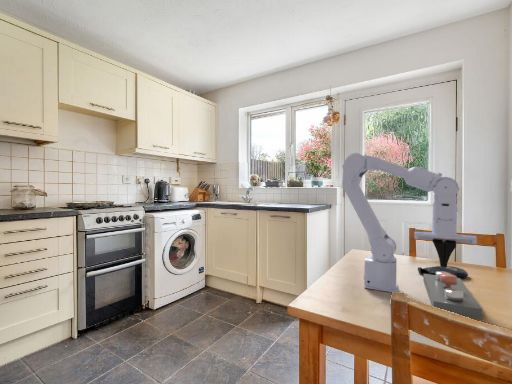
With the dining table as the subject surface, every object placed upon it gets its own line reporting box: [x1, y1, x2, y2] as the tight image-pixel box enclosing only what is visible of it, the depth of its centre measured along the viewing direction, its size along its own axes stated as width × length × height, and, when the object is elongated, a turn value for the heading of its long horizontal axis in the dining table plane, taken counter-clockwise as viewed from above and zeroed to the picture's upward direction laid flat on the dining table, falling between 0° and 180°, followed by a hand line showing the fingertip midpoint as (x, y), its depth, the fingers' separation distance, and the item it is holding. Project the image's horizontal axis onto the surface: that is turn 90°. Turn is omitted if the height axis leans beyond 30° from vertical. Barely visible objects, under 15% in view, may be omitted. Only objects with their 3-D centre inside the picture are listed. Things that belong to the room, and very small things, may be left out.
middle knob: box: [440, 273, 457, 288], centre depth 78 cm, size 4×4×4 cm
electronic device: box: [417, 265, 469, 280], centre depth 96 cm, size 9×6×15 cm
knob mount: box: [422, 274, 483, 320], centre depth 78 cm, size 10×24×2 cm, turn 153°
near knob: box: [445, 288, 463, 302], centre depth 71 cm, size 4×4×4 cm
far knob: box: [435, 271, 450, 280], centre depth 85 cm, size 4×4×4 cm
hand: (443, 265), depth 77 cm, fingers closed
